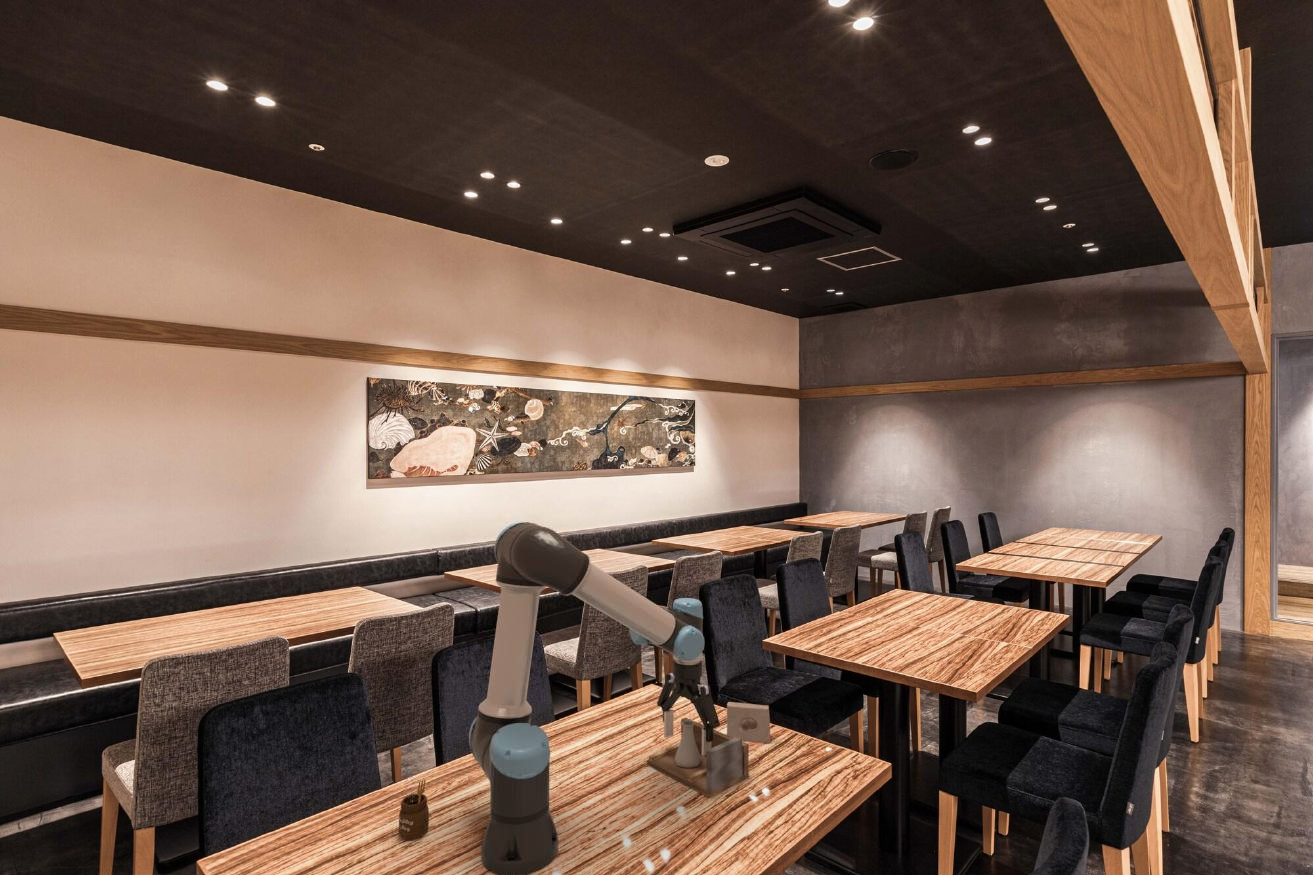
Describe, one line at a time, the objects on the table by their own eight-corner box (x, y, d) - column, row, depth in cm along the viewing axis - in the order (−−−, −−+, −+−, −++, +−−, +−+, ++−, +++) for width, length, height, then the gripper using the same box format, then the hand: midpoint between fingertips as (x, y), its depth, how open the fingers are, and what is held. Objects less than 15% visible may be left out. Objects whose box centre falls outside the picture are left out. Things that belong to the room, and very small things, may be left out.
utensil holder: (419, 821, 142) (419, 765, 143) (435, 832, 138) (435, 774, 139) (393, 833, 138) (393, 776, 138) (409, 845, 134) (409, 785, 134)
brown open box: (709, 798, 151) (709, 753, 152) (646, 764, 168) (646, 724, 168) (748, 777, 161) (748, 735, 161) (685, 748, 177) (685, 710, 177)
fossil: (726, 740, 182) (726, 705, 182) (727, 734, 186) (727, 700, 186) (770, 744, 180) (769, 709, 180) (770, 738, 183) (770, 704, 183)
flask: (702, 756, 170) (702, 717, 170) (701, 769, 163) (701, 729, 163) (674, 755, 170) (674, 716, 171) (672, 768, 163) (672, 728, 163)
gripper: (734, 669, 160) (734, 756, 160) (664, 646, 179) (664, 725, 178) (713, 676, 155) (713, 766, 155) (644, 652, 174) (643, 733, 173)
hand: (687, 744), depth 166 cm, fingers open, 13 cm apart
